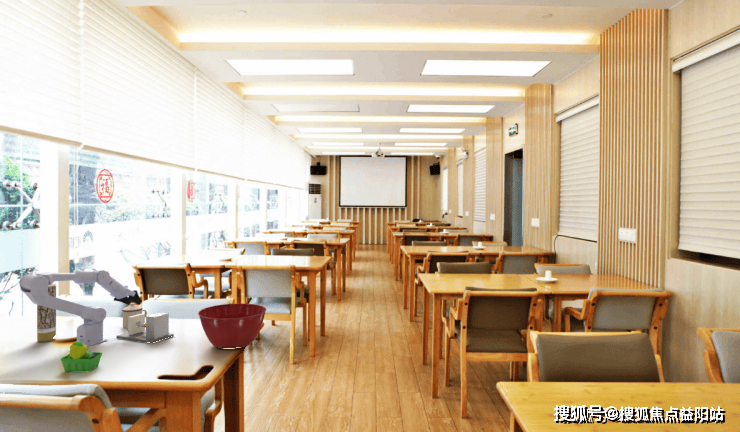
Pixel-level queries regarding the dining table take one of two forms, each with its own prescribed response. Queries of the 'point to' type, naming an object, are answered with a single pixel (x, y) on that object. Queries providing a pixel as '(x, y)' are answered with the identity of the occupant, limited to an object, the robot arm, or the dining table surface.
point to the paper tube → (46, 319)
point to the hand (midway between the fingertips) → (135, 302)
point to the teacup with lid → (131, 313)
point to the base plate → (140, 337)
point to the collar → (132, 324)
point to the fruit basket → (80, 358)
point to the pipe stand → (156, 325)
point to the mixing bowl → (232, 324)
